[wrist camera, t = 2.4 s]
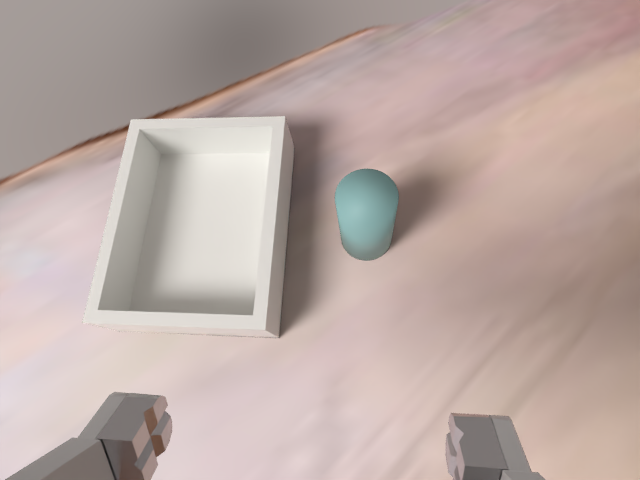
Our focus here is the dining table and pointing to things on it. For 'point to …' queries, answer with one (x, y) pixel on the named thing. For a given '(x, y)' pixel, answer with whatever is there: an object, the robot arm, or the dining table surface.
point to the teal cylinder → (366, 212)
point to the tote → (197, 229)
